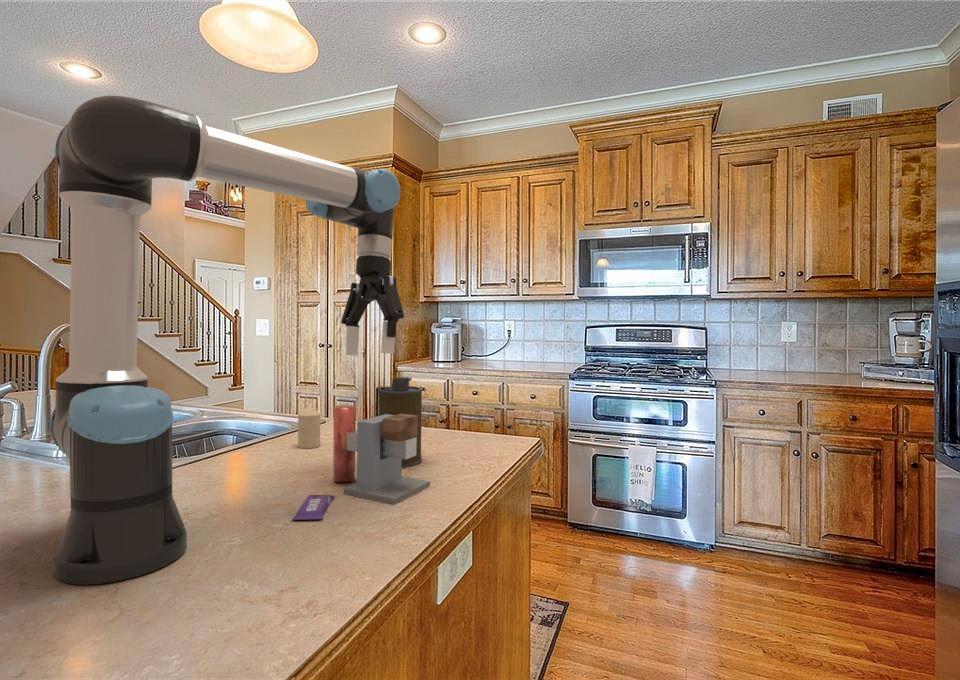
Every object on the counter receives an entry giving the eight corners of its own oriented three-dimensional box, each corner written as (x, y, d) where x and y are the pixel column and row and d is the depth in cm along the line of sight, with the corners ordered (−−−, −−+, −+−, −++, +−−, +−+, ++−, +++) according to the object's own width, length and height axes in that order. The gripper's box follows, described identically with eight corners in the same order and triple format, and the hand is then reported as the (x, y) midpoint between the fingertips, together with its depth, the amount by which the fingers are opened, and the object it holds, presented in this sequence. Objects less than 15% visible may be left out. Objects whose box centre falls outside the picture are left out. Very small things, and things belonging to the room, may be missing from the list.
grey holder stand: (394, 504, 95) (394, 428, 94) (343, 493, 100) (343, 421, 100) (429, 486, 105) (430, 417, 105) (382, 477, 111) (382, 412, 110)
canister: (425, 456, 128) (426, 375, 127) (416, 468, 118) (417, 380, 117) (382, 454, 129) (383, 374, 128) (369, 466, 119) (370, 379, 118)
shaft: (404, 495, 98) (404, 416, 98) (328, 479, 107) (329, 407, 106) (417, 488, 102) (417, 413, 102) (343, 474, 111) (343, 404, 110)
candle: (324, 445, 137) (324, 408, 137) (307, 449, 133) (307, 411, 132) (310, 442, 140) (310, 406, 140) (293, 446, 136) (293, 408, 135)
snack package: (322, 513, 86) (291, 514, 86) (322, 524, 86) (291, 525, 86) (335, 490, 98) (308, 490, 97) (335, 500, 98) (308, 501, 98)
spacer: (399, 441, 97) (399, 420, 97) (382, 439, 99) (382, 418, 99) (417, 435, 103) (417, 415, 103) (400, 433, 105) (401, 413, 104)
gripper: (423, 252, 108) (419, 353, 106) (357, 269, 126) (352, 357, 123) (394, 244, 103) (389, 350, 101) (329, 263, 120) (323, 354, 118)
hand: (368, 354), depth 112 cm, fingers open, 13 cm apart
